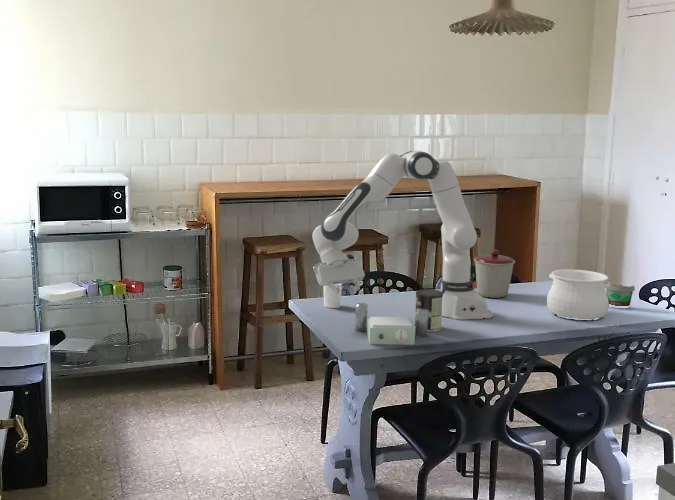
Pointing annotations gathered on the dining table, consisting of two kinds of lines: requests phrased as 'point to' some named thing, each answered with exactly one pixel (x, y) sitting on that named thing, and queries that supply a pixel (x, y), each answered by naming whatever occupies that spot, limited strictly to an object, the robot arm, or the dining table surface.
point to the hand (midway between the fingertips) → (347, 291)
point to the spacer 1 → (361, 317)
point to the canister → (493, 274)
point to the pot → (578, 294)
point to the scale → (390, 330)
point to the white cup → (332, 296)
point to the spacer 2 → (421, 322)
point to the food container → (619, 295)
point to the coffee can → (430, 307)
